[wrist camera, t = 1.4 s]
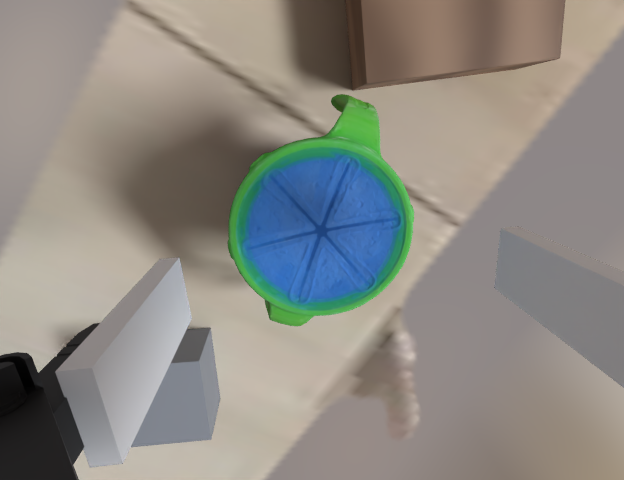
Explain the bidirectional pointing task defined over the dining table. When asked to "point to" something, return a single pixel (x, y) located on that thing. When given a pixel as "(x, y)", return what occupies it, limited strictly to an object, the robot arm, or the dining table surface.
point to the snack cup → (322, 220)
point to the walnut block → (448, 38)
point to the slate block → (184, 395)
